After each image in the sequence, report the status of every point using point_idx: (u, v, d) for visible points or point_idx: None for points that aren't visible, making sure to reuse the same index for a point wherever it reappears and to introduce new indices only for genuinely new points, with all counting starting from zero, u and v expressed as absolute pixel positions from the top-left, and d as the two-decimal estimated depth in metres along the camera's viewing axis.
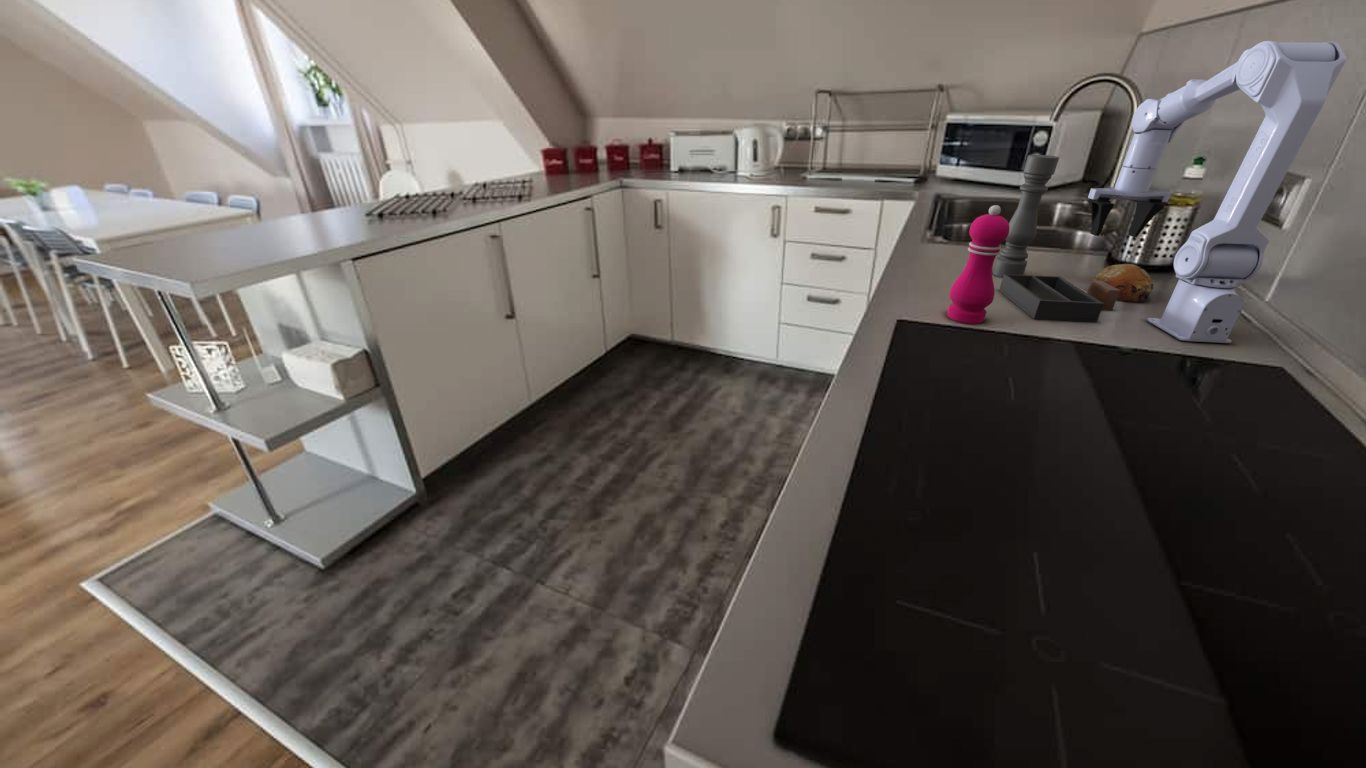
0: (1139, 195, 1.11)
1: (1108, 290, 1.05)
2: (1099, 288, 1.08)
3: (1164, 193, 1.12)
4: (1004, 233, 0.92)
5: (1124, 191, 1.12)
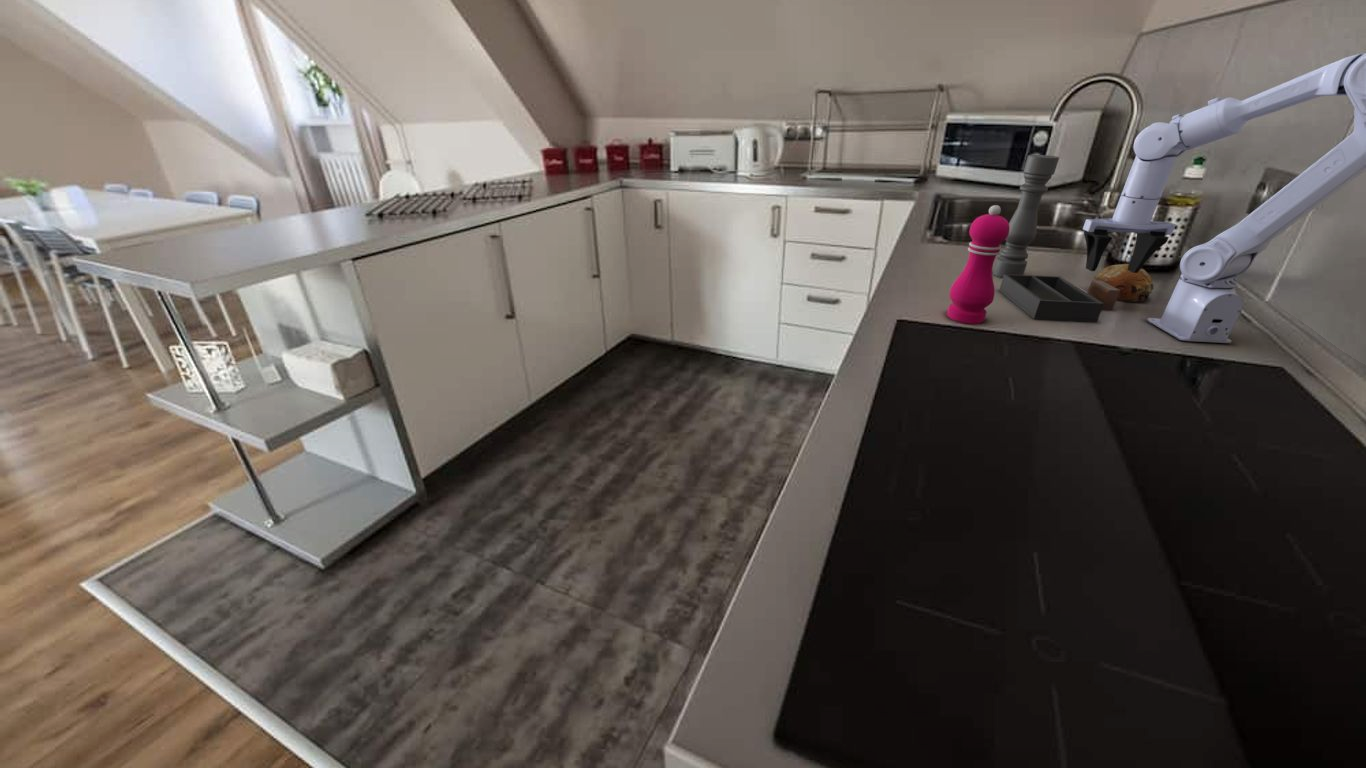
0: (1140, 228, 1.00)
1: (1108, 290, 1.05)
2: (1099, 288, 1.08)
3: (1168, 225, 1.01)
4: (1004, 233, 0.92)
5: (1123, 223, 1.01)
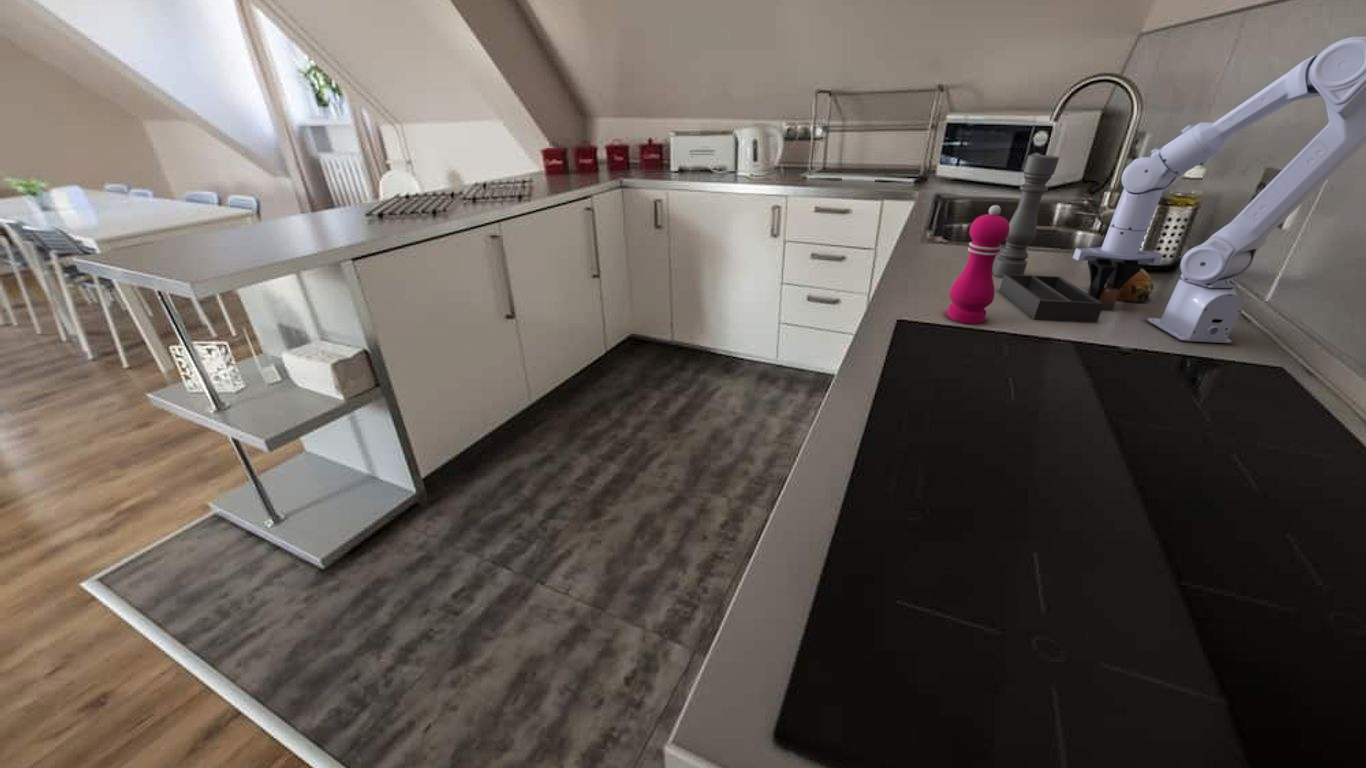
0: (1128, 258, 1.02)
1: (1108, 290, 1.05)
2: None
3: (1155, 255, 1.03)
4: (1004, 233, 0.92)
5: (1112, 253, 1.03)
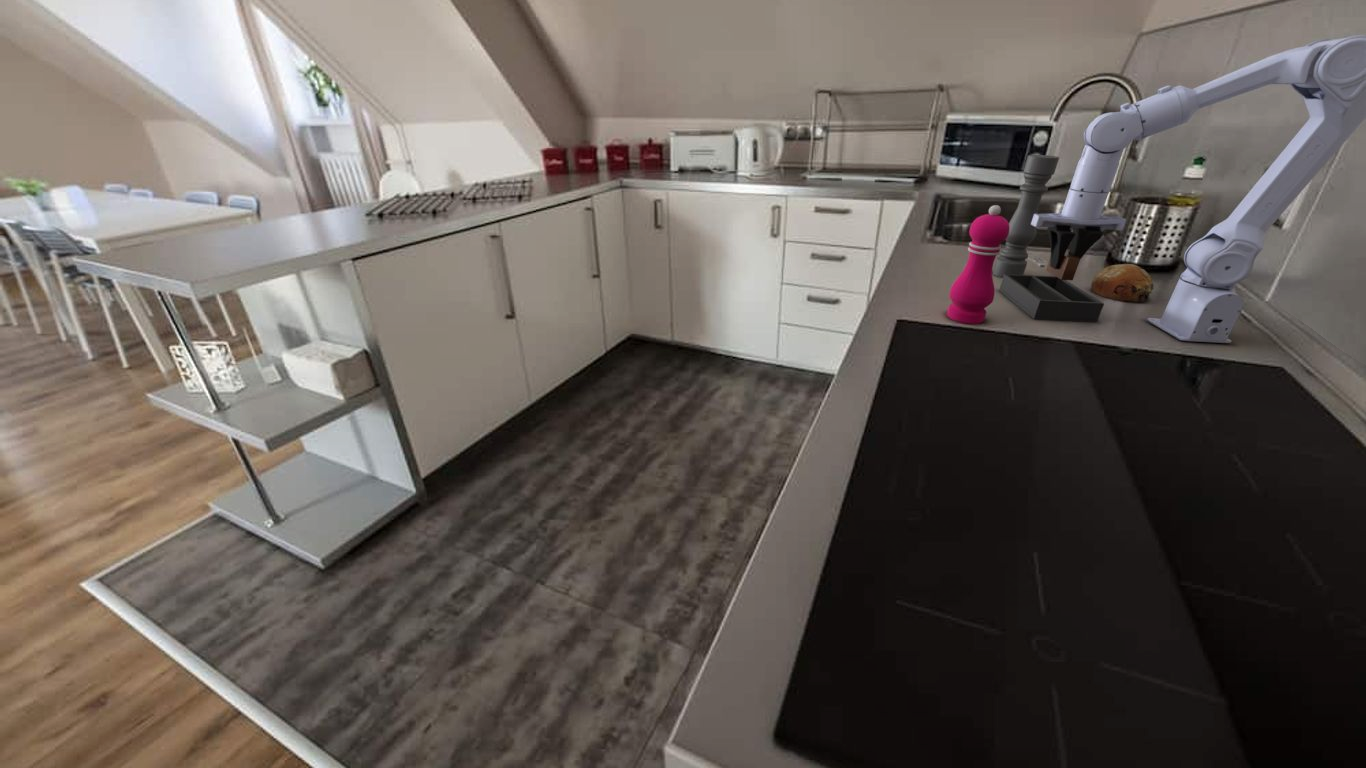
0: (1088, 223, 0.95)
1: (1067, 258, 0.98)
2: None
3: (1118, 220, 0.96)
4: (1004, 233, 0.92)
5: (1071, 218, 0.96)
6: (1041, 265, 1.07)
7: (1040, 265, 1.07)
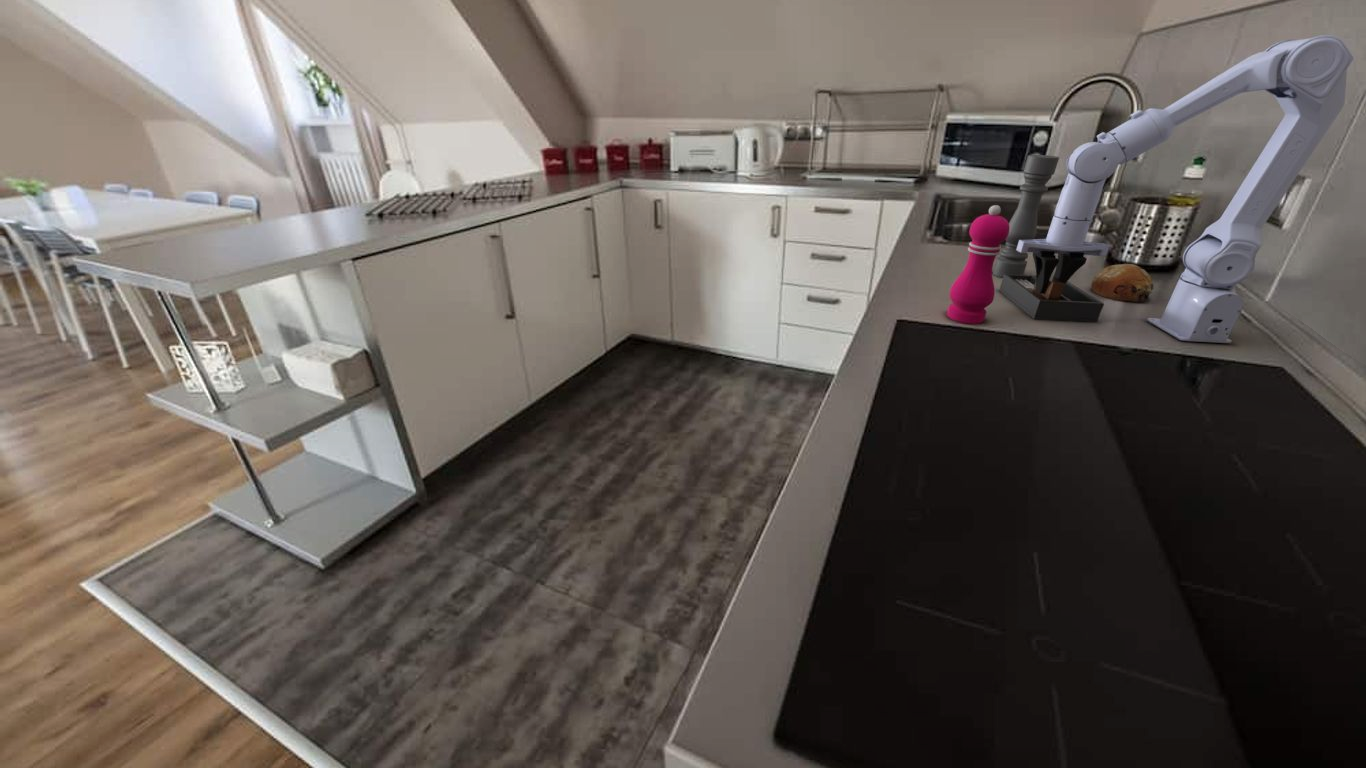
0: (1072, 250, 0.97)
1: (1052, 283, 1.00)
2: None
3: (1101, 247, 0.98)
4: (1004, 233, 0.92)
5: (1055, 245, 0.97)
6: (1027, 288, 1.08)
7: (1026, 288, 1.09)
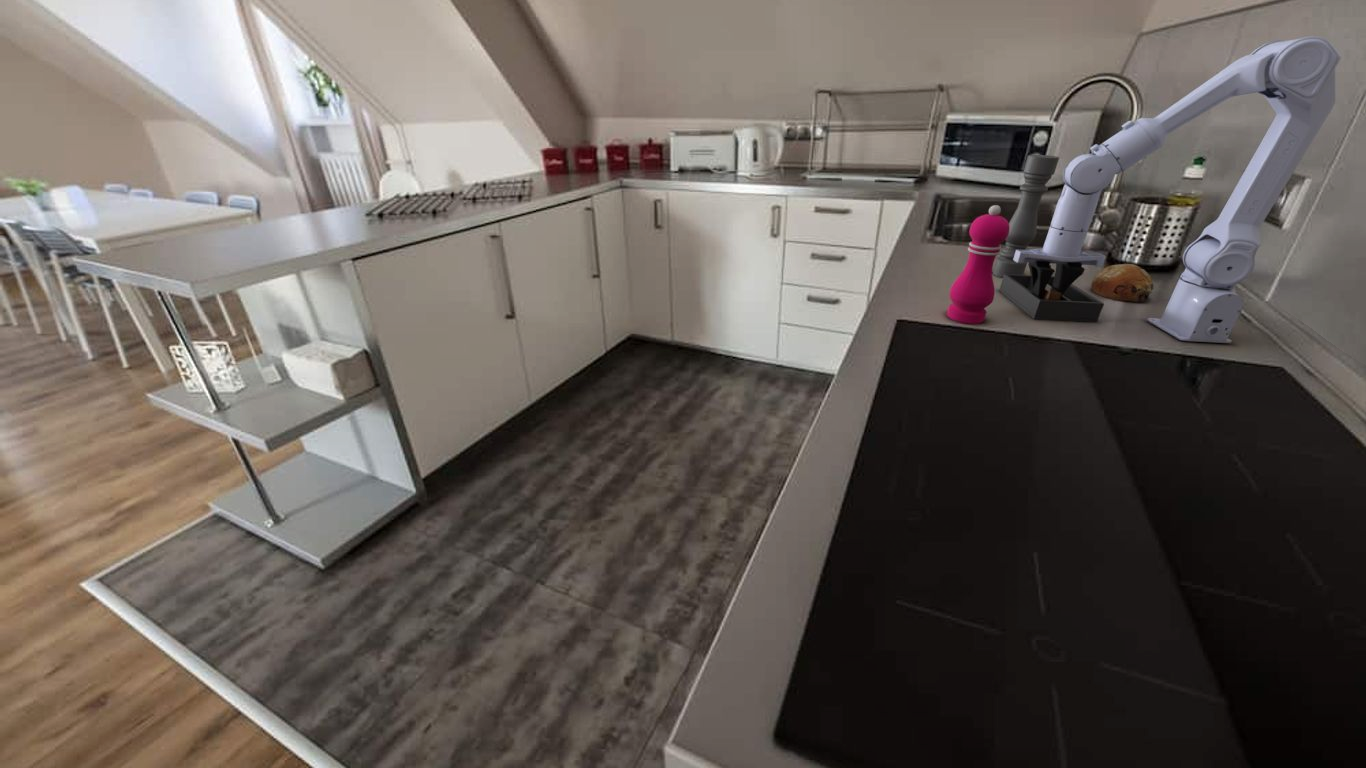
0: (1068, 260, 0.97)
1: (1049, 292, 1.01)
2: None
3: (1097, 257, 0.99)
4: (1004, 233, 0.92)
5: (1051, 255, 0.98)
6: None
7: None
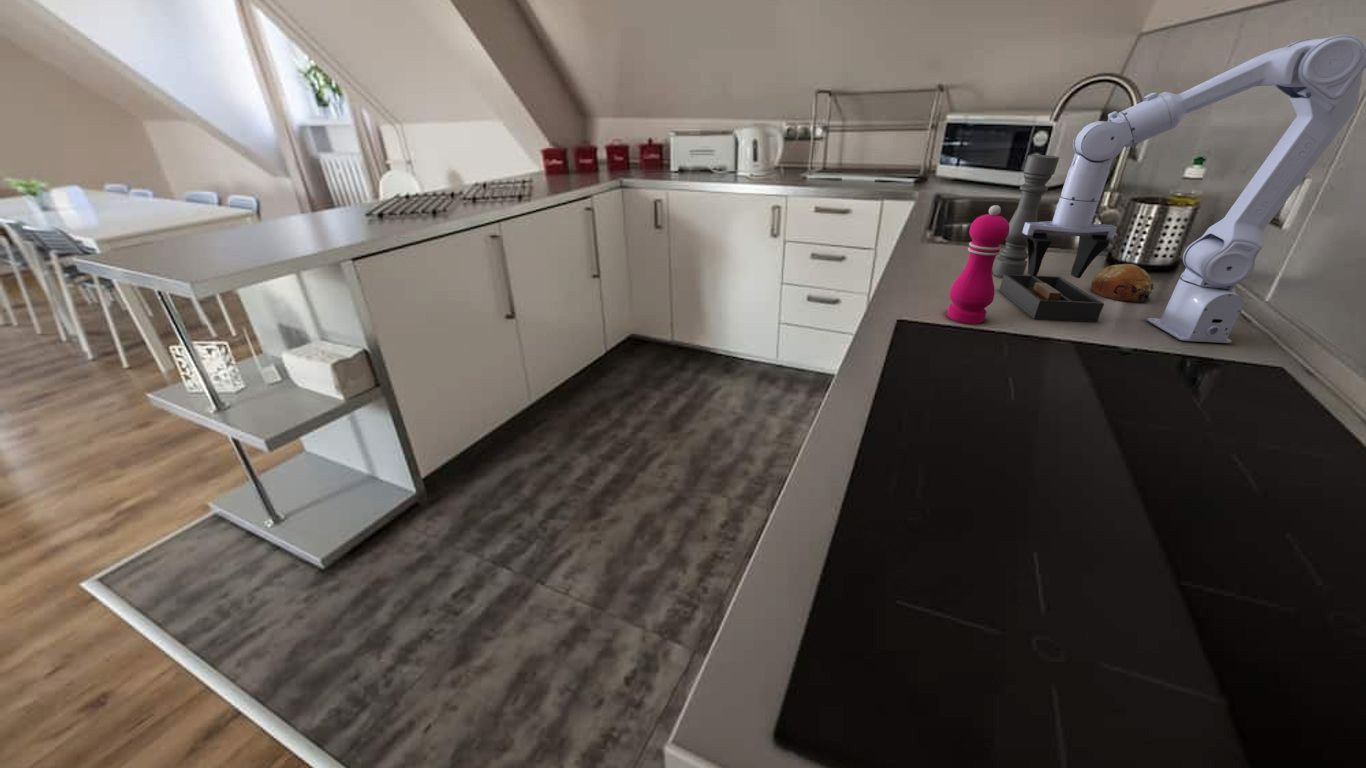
0: (1079, 231, 0.95)
1: (1049, 292, 1.01)
2: (1042, 291, 1.03)
3: (1109, 228, 0.96)
4: (1004, 233, 0.92)
5: (1062, 226, 0.96)
6: None
7: None
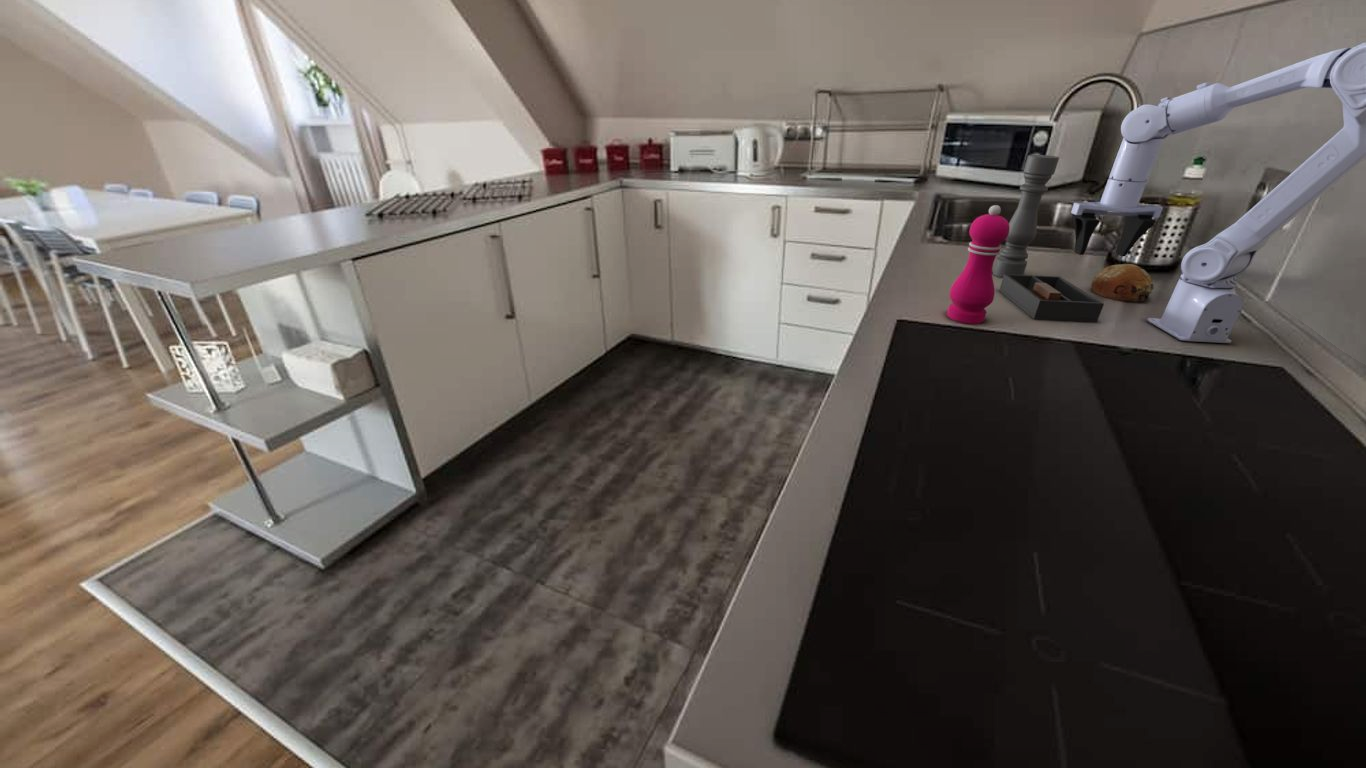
0: (1127, 211, 1.00)
1: (1049, 292, 1.01)
2: (1042, 291, 1.03)
3: (1155, 208, 1.01)
4: (1004, 233, 0.92)
5: (1110, 206, 1.01)
6: None
7: None
